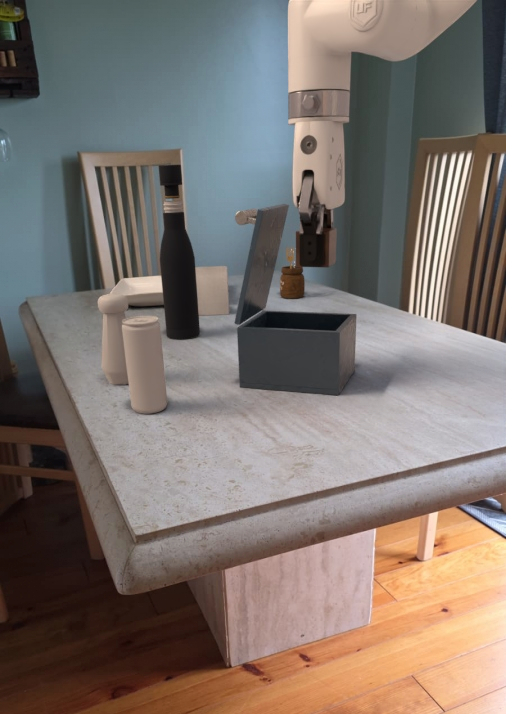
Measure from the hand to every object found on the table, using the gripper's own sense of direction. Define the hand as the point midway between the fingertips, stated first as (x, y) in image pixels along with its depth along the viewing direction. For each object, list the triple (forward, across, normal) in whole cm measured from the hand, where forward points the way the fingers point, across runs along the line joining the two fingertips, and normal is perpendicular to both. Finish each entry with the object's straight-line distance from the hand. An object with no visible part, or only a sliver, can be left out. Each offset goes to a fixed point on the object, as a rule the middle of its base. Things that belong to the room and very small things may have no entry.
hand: (316, 262), depth 84 cm
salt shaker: (+18, -6, +29) cm, 34 cm away
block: (0, 0, 0) cm, 0 cm away
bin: (+17, +1, +3) cm, 17 cm away
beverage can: (+17, -16, +19) cm, 30 cm away
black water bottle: (+18, +22, +32) cm, 43 cm away
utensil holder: (+18, +63, +21) cm, 69 cm away
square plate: (+18, +58, +51) cm, 79 cm away
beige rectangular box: (+18, +42, +33) cm, 57 cm away
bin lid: (+1, +1, +8) cm, 8 cm away
